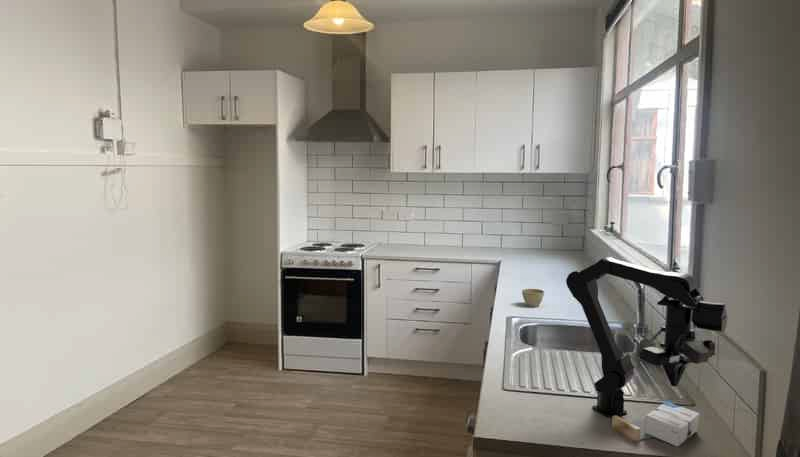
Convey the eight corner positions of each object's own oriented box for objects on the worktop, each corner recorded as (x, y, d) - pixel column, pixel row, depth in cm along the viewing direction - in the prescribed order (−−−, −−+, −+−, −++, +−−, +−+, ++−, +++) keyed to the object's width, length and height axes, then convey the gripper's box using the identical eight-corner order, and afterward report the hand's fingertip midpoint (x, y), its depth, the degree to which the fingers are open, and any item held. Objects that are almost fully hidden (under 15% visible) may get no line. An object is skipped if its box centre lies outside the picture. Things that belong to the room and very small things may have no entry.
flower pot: (530, 302, 284) (531, 287, 283) (548, 306, 276) (548, 291, 275) (517, 305, 277) (517, 290, 277) (534, 309, 270) (535, 294, 269)
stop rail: (611, 427, 150) (612, 416, 149) (615, 426, 150) (616, 415, 150) (636, 441, 142) (636, 429, 142) (639, 440, 143) (640, 428, 142)
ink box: (663, 418, 154) (642, 433, 146) (665, 400, 153) (645, 414, 145) (697, 431, 147) (678, 447, 139) (700, 413, 147) (680, 428, 139)
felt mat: (615, 426, 150) (615, 425, 150) (653, 418, 155) (654, 417, 155) (639, 440, 143) (640, 439, 143) (679, 431, 148) (679, 430, 148)
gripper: (676, 337, 135) (672, 403, 137) (734, 329, 143) (729, 392, 145) (639, 325, 146) (636, 387, 147) (694, 318, 153) (690, 376, 155)
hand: (674, 386), depth 148 cm, fingers closed
